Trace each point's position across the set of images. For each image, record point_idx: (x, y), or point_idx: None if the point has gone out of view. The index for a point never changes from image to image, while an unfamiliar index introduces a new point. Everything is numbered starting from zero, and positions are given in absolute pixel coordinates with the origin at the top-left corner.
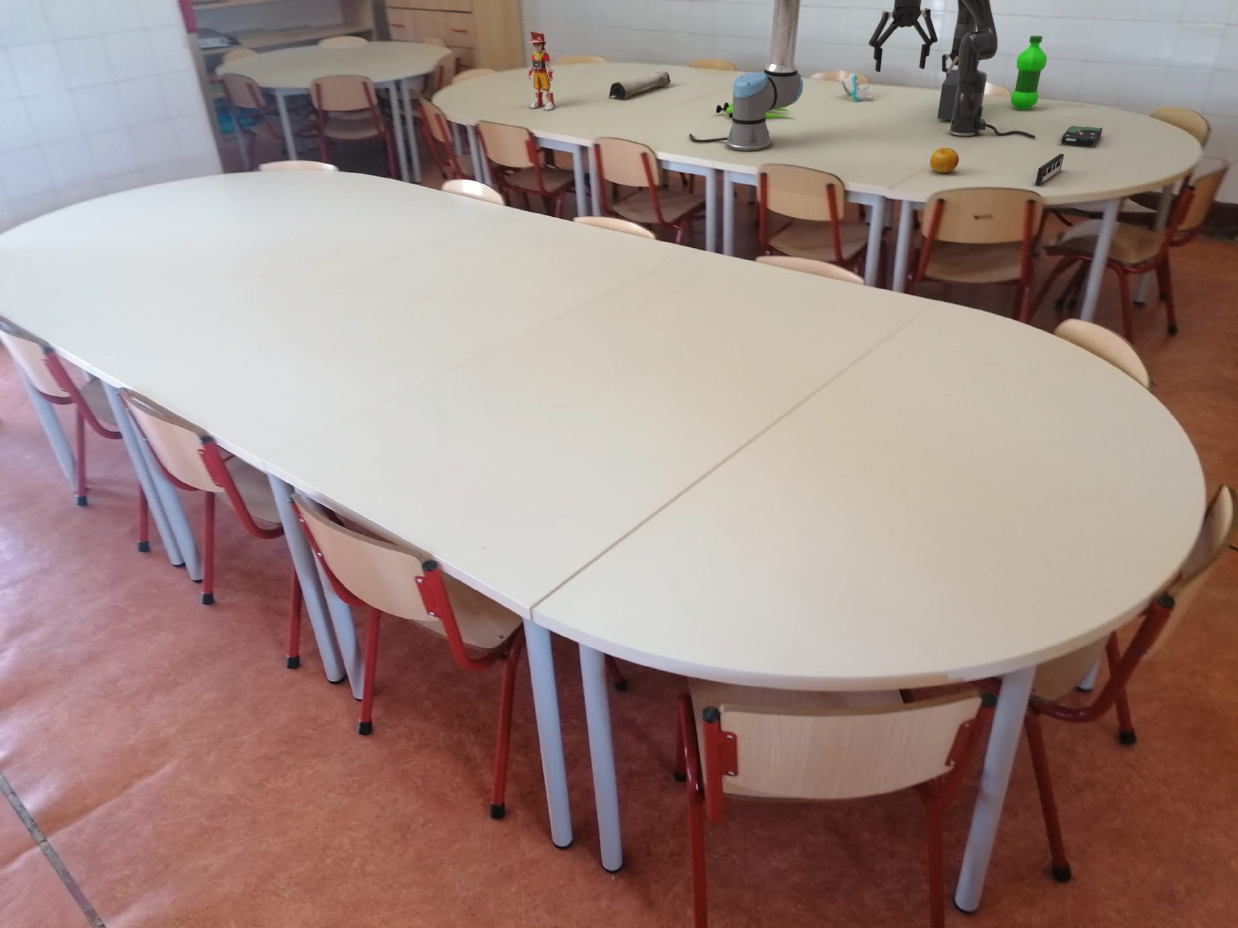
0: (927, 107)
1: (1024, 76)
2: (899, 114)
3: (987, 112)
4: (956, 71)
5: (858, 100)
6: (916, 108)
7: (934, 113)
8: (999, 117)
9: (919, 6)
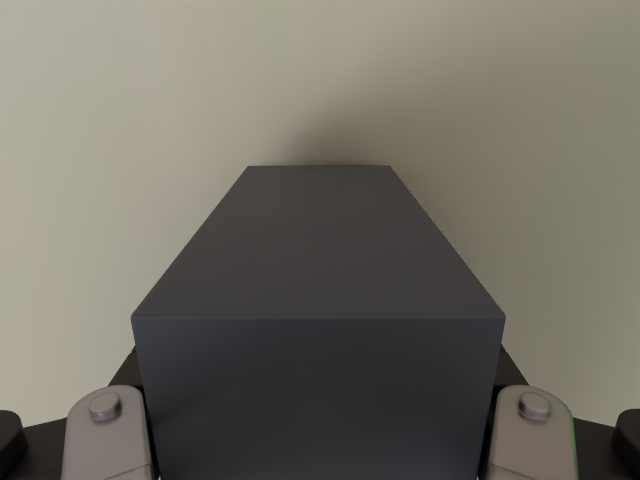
0: (117, 228)
1: None
2: None
3: (574, 286)
4: (269, 467)
5: None
6: (49, 274)
7: None
8: (636, 389)
9: None
